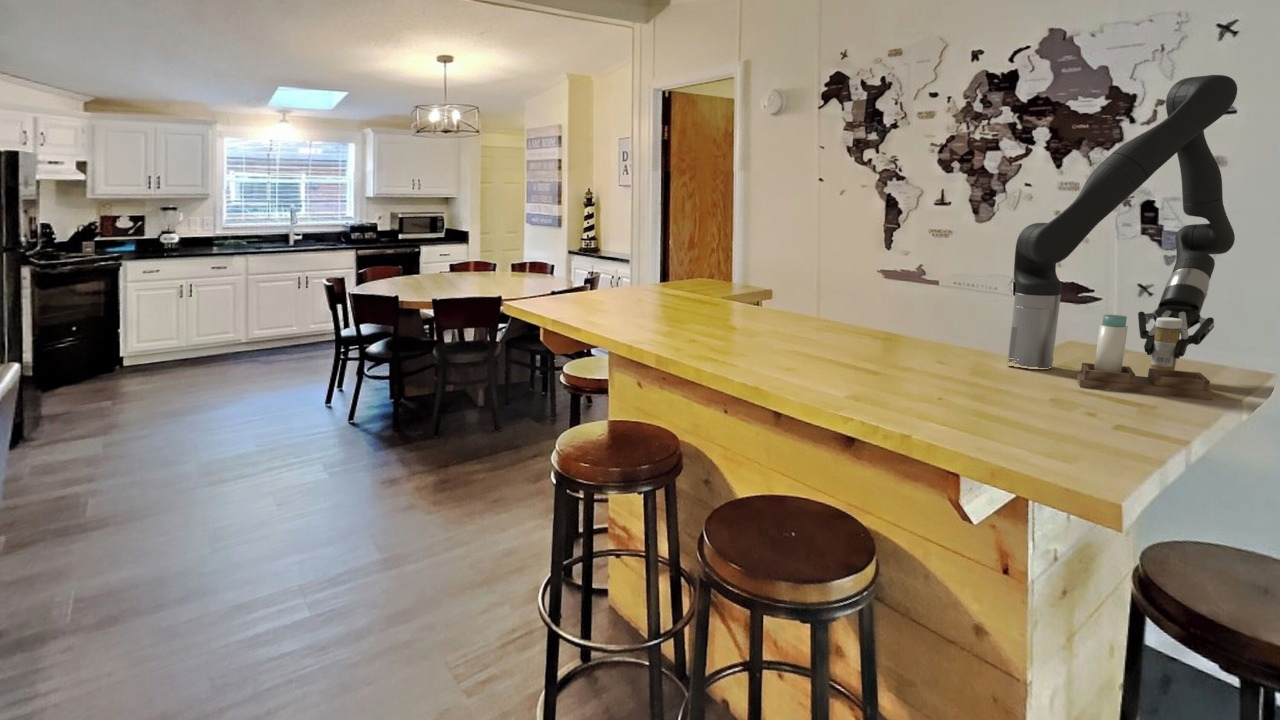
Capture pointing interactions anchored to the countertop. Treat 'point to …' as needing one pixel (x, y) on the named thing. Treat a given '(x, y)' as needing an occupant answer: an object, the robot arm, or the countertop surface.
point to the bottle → (1111, 344)
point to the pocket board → (1147, 382)
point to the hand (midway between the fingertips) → (1162, 354)
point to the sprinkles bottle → (1165, 343)
